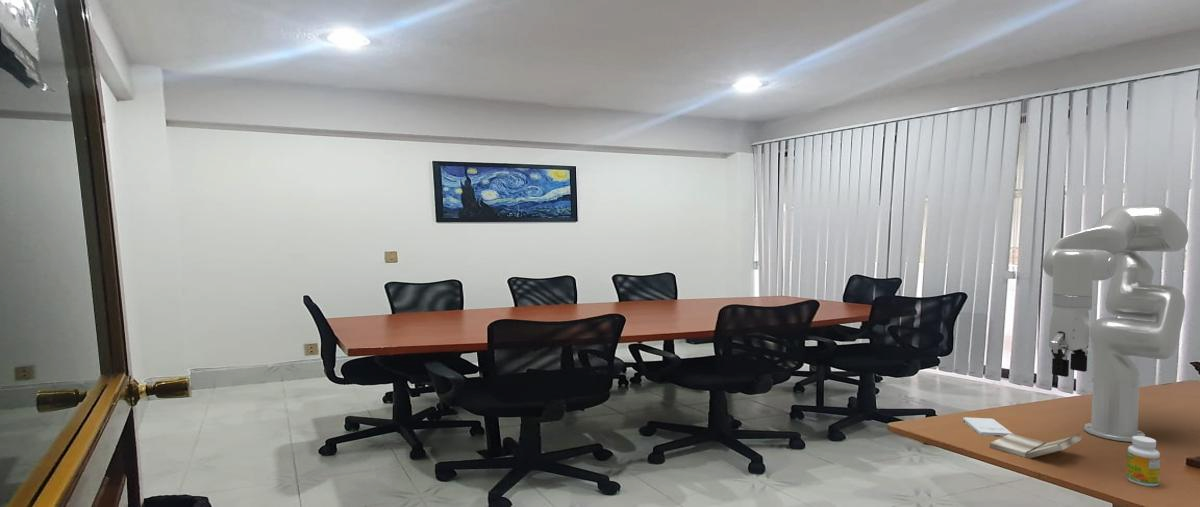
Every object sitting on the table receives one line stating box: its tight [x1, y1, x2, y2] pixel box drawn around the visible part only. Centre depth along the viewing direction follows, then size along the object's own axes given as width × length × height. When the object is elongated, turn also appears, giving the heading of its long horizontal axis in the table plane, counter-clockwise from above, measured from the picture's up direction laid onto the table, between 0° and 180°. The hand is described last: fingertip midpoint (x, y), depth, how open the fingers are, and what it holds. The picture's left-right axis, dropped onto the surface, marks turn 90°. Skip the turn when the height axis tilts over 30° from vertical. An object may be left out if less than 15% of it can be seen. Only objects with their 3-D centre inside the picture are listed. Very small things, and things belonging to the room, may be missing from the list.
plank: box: [1027, 433, 1083, 459], centre depth 149 cm, size 12×8×1 cm
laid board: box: [989, 432, 1046, 459], centre depth 156 cm, size 12×9×1 cm
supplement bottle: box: [1126, 436, 1161, 487], centre depth 135 cm, size 5×5×10 cm
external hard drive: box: [962, 416, 1014, 437], centre depth 170 cm, size 2×8×12 cm
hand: (1069, 373), depth 146 cm, fingers open, 9 cm apart
